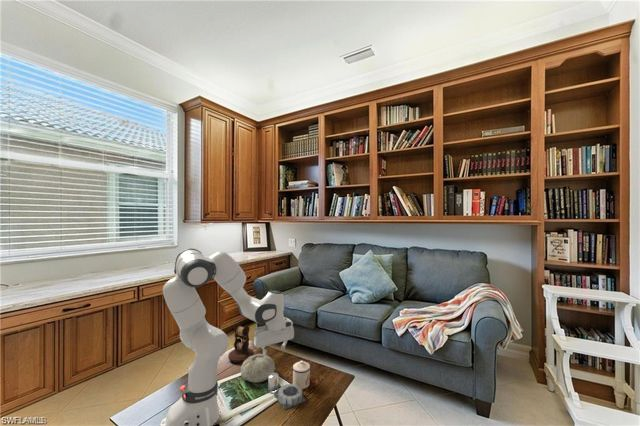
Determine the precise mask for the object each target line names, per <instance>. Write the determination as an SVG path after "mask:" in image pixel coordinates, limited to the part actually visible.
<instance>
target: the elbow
mask: <svg viewBox="0 0 640 426" xmlns="http://www.w3.org/2000/svg"><path fill="white" fill-rule="evenodd" d="M279 377H280V376H279V373H278V372H274V373H270V374H269V375H268V379H267V390H268V389H269V390H270V391H275V390H277V389H278V390H279Z"/></svg>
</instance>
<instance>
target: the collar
mask: <svg viewBox="0 0 640 426" xmlns="http://www.w3.org/2000/svg"><path fill="white" fill-rule="evenodd" d="M277 394H278V395H276V394H275V395H276V397H275V398H276V400H277V401H278V403H279V404H280V406H281V407H282V408H283V410H284V411H286V410H288V409H291V408H293V407H296V406H298V405H300V404H302V403H305V402H307V399H306V398H305V397H304V395H303V389H302V388H301V387H300V386H299V385H296V384H293V383H287V384H284V385H282V386H281V387H279V388H278V392H277Z"/></svg>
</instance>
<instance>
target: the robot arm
mask: <svg viewBox="0 0 640 426" xmlns="http://www.w3.org/2000/svg"><path fill="white" fill-rule="evenodd" d="M173 272H174V274H175V275H174V277H173V278H171V279H169V280H168V281H166V282H165V283H164V285H163V287H162V295H163V297H164V300H165V304H166V305H167V308H168V310H169V311H170V314H171V315H172V317H173V319H174V321H175V322H176V324H177V326H178V328H179V339H180V341H181V342H182V344H183V345H185V347H186V348H188V349H190V350H192V351H193V352H194V354H195V358H194V361H193V362H192V363H191V365H189V367H188V372H187V373H188V376H187V377H188V379H187V386H186V385H185V384H184V385H181V386H180V387H179V389H180V393H181V394H182V395H181V397H180V398H179V399H178V400H176V402H174V403H173V404H172V405H171V406H170V407H169V408H168V410H167V413H166V417H164V418H163V419H162V420H161V421H160V424H159V426H213V425H215V424H216V423H215V421H216V420H217V418H218V416H219V412H220V409H219V404H218V397H217V396H218V392H219V391H218V390H219V385H218V382H219V381H218V379H217V378H218V377H217V375H218V364H219V361H220V358H221V357H223V355H225V354H226V352H227V350H228V348H229V345H230V339H229V338H230V337H229V336H228V335H227V333H225V332H224V331H223V330H222V329H220V328H218V327H215V326H214V325H211V324H210V323H209V322H208V321H207V320H206V316H205V315H206V313H207V310H206V307H205V305H204V304H203V301H202V299H201V297H200V295H199V294H198V291H197V289H196V288H199V287H202V286H204V285H206V284H207V283H208V282H210V281H213V280H214V281H215V282H216V283H217V284H218V285H219V286H220V287H221V288H222V289H223V290H224V291H225V292H227V293H228V294H229V295H230V297H231V298H232V299H233V301H234V302H236V305H237V307H238V312H239V314H240V315H241V316H242V317H244V318H246V319H249V320H251V321H253V322H255V323H257V324H260V325H263V324H265V325H263V326H258V327H256V328H255V330H254V331H253V336H254V337H253V345H254V347H255V348H256V349H259V348H261V349H262V354H264V355H268V350H267V349H265V348H266V347H267V346H270V345H275V344H278V343H282V342H283V343H282V344H281V345H280V349H281V351H282V350H285V349H286V345H287V343H288V341H289V340H293V339H294V337H295V328H294V326H293V325H294V323H293V321H292V320H291V319H290V318H288V317H286V316H284V310H285V297H284V294H283V292H281V291H279V290H269V291H267V294H266V295H265V296H264V297H263V298H262V299H258V298H257V297H255V296H252V295H250V294H248V293H247V291H246V289H244V285H245V284H246V281H247V275H246V274H245V271H244V270H243V268H242V267H241V266H240V264H239V263H238V262H237V261H236V260H235V259H234V258H233V257H232V256H230V255H229V254H228V253H227V252H225V251H222V250H221V251H217V252H214V253H213V254H212V255H209V256H205V255H204V254H203V253H202V251H200V250H198V249H197V248H186V249H183V250H182V251H180V252H179V253H178V254H177V256H176V258H175V262H174V269H173ZM219 417H220V416H219ZM218 419H219V418H218ZM217 421H218V420H217ZM217 421H216V422H217ZM214 423H215V424H214Z"/></svg>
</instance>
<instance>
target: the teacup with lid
mask: <svg viewBox="0 0 640 426" xmlns="http://www.w3.org/2000/svg"><path fill="white" fill-rule="evenodd" d="M310 380H311V365H310V363H308V362H306V361H304V360H300V361H298V362H295V363H293V365H292V384H296V385H299V386H300V387H301V388H302V390H304V389H307V388H308V387H309V386H310Z"/></svg>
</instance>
